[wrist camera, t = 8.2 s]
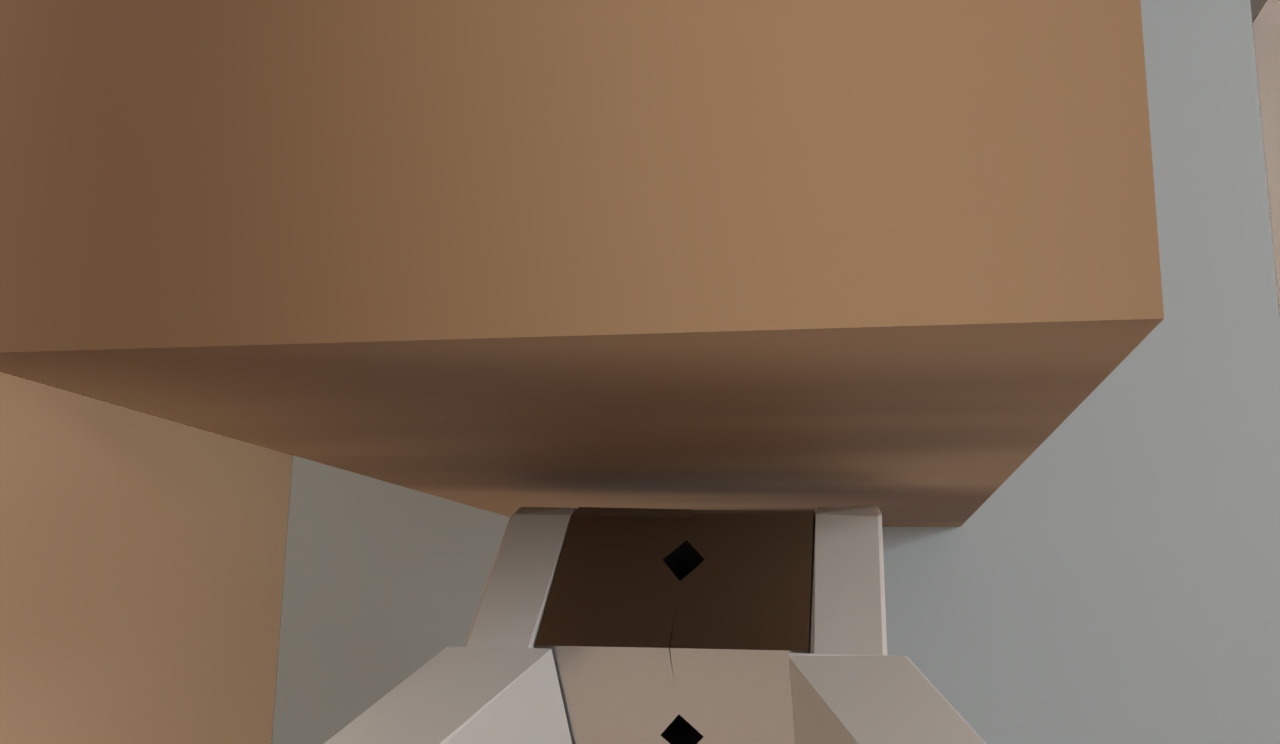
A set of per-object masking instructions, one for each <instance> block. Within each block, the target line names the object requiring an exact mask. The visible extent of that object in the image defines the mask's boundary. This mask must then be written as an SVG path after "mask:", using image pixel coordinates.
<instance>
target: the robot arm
mask: <svg viewBox="0 0 1280 744" xmlns="http://www.w3.org/2000/svg"><path fill="white" fill-rule="evenodd" d="M324 744H986V743H985V742H984V741H983V739H982V738H981V737H980V736H979V735H978V734H977V733H976V732H975V731H974V730H973V728H972V727H971V726H970V725H969V724H968V723H967V722H966V721H965V720H964V718H963V717H962V716H961V715H960V714H959V713H958V712H957V711H956V710H955V709H954V707H953V706H952V705H951V704H950V703H949V702H948V701H947V700H946V699H945V697H944V696H943V695H942V694H941V693H940V692H939V691H938V690H937V689H936V688H935V686H934V685H933V684H932V683H931V682H930V681H929V680H928V679H927V678H926V677H925V675H924V674H923V673H922V672H921V671H920V670H919V669H918V668H917V667H916V665H915V664H914V663H913V662H912V661H911V660H910V659H909V658H908V657H907V656H893V655H887V632H886V607H885V582H884V557H883V532H882V513H881V511H880V510H879V508H878V506H853V507H817V510H816V511H815V509H734V510H695V509H650V508H603V507H578V509H576V508H560V507H520V508H519V509H518V510H517V511H516V512H515V513H514V514H513V515H512V516H511V517H510V519H509V522H508V524H507V527H506V530H505V533H504V536H503V538H502V541H501V544H500V547H499V550H498V552H497V555H496V558H495V561H494V564H493V567H492V569H491V572H490V575H489V578H488V581H487V583H486V586H485V589H484V592H483V595H482V597H481V600H480V603H479V606H478V609H477V611H476V614H475V617H474V620H473V623H472V626H471V628H470V631H469V634H468V637H467V640H466V642H465V645H464V647H446V648H444V649H443V650H442V651H440V652H439V653H438V654H437V655H435V656H434V657H433V658H432V659H430V660H429V661H428V662H427V663H425V664H424V665H423V666H421V667H420V668H419V669H418V670H416V671H415V672H414V673H413V674H411V675H410V676H409V677H407V678H406V679H405V680H404V681H402V682H401V683H400V684H399V685H397V686H396V687H395V688H394V689H392V690H391V691H390V692H388V693H387V694H386V695H385V696H383V697H382V698H381V699H380V700H378V701H377V702H376V703H375V704H373V705H372V706H371V707H369V708H368V709H367V710H366V711H364V712H363V713H362V714H361V715H359V716H358V717H357V718H355V719H354V720H353V721H352V722H350V723H349V724H348V725H347V726H345V727H344V728H343V729H342V730H340V731H339V732H338V733H336V734H335V735H334V736H333V737H331V738H330V739H329V740H328V741H326V742H325V743H324Z"/></svg>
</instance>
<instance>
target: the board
mask: <svg viewBox="0 0 1280 744" xmlns="http://www.w3.org/2000/svg"><path fill="white" fill-rule="evenodd" d="M1140 2H1141V16H1142V29H1143V42H1144V56H1145V69H1146V83H1147V96H1148V109H1149V123H1150V136H1151V149H1152V163H1153V176H1154V190H1155V203H1156V216H1157V230H1158V243H1159V256H1160V270H1161V283H1162V297H1163V310H1164V319H1163V320H1162V321H1161V322H1160V323H1159V324H1158V325H1157V326H1156V327H1155V328H1154V329H1153V330H1152V331H1151V333H1150V334H1149V335H1148V336H1147V337H1146V338H1145V339H1144V340H1143V341H1142V342H1141V343H1140V344H1139V345H1138V346H1137V347H1136V348H1135V349H1134V350H1133V351H1132V352H1131V353H1130V354H1129V355H1128V356H1127V357H1126V358H1125V359H1124V360H1123V361H1122V362H1121V363H1120V364H1119V365H1118V366H1117V367H1116V368H1115V369H1114V370H1113V371H1112V372H1111V373H1110V374H1109V375H1108V377H1107V378H1106V379H1105V380H1104V381H1103V382H1102V383H1101V384H1100V385H1099V386H1098V387H1097V388H1096V389H1095V390H1094V391H1093V392H1092V393H1091V394H1090V395H1089V396H1088V397H1087V398H1086V399H1085V400H1084V401H1083V402H1082V403H1081V404H1080V405H1079V406H1078V407H1077V408H1076V409H1075V410H1074V411H1073V412H1072V413H1071V414H1070V415H1069V416H1068V417H1067V418H1066V419H1065V421H1064V422H1063V423H1062V424H1061V425H1060V426H1059V427H1058V428H1057V429H1056V430H1055V431H1054V432H1053V433H1052V434H1051V435H1050V436H1049V437H1048V438H1047V439H1046V440H1045V441H1044V442H1043V443H1042V444H1041V445H1040V446H1039V447H1038V448H1037V449H1036V450H1035V451H1034V452H1033V453H1032V454H1031V455H1030V456H1029V457H1028V458H1027V459H1026V460H1025V461H1024V462H1023V463H1022V465H1021V466H1020V467H1019V468H1018V469H1017V470H1016V471H1015V472H1014V473H1013V474H1012V475H1011V476H1010V477H1009V478H1008V479H1007V480H1006V481H1005V482H1004V483H1003V484H1002V485H1001V486H1000V487H999V488H998V489H997V490H996V491H995V492H994V493H993V494H992V495H991V496H990V497H989V498H988V499H987V500H986V501H985V502H984V503H983V504H982V505H981V506H980V507H979V509H978V510H977V511H976V512H975V513H974V514H973V515H972V516H971V517H970V518H969V519H968V520H967V521H966V522H965V523H964V524H963V525H962V526H961V527H882V532H883V557H884V582H885V607H886V632H887V655H893V656H907V657H908V658H909V659H910V660H911V661H912V662H913V663H914V664H915V665H916V667H917V668H918V669H919V670H920V671H921V672H922V673H923V674H924V675H925V677H926V678H927V679H928V680H929V681H930V682H931V683H932V684H933V685H934V686H935V688H936V689H937V690H938V691H939V692H940V693H941V694H942V695H943V696H944V697H945V699H946V700H947V701H948V702H949V703H950V704H951V705H952V706H953V707H954V709H955V710H956V711H957V712H958V713H959V714H960V715H961V716H962V717H963V718H964V720H965V721H966V722H967V723H968V724H969V725H970V726H971V727H972V728H973V730H974V731H975V732H976V733H977V734H978V735H979V736H980V737H981V738H982V739H983V741H984V742H985V743H986V744H1280V316H1279V305H1278V294H1277V283H1276V272H1275V262H1274V251H1273V240H1272V229H1271V219H1270V208H1269V197H1268V186H1267V176H1266V165H1265V154H1264V143H1263V133H1262V122H1261V111H1260V100H1259V90H1258V79H1257V68H1256V57H1255V47H1254V36H1253V25H1252V14H1251V3H1250V0H1140ZM509 519H510V517H507V516H504V515H500V514H497V513H493V512H490V511H486V510H483V509H479V508H476V507H472V506H469V505H465V504H462V503H458V502H455V501H451V500H448V499H444V498H441V497H437V496H434V495H430V494H427V493H423V492H420V491H416V490H413V489H409V488H406V487H402V486H399V485H395V484H392V483H388V482H385V481H381V480H378V479H374V478H371V477H367V476H364V475H360V474H357V473H353V472H350V471H346V470H343V469H339V468H336V467H332V466H329V465H325V464H322V463H318V462H315V461H311V460H308V459H304V458H301V457H297V456H294V455H293V459H292V473H291V487H290V500H289V514H288V528H287V541H286V555H285V569H284V582H283V596H282V610H281V623H280V637H279V651H278V664H277V678H276V692H275V705H274V719H273V733H272V744H324V743H325V742H326V741H328V740H329V739H330V738H331V737H333V736H334V735H335V734H336V733H338V732H339V731H340V730H342V729H343V728H344V727H345V726H347V725H348V724H349V723H350V722H352V721H353V720H354V719H355V718H357V717H358V716H359V715H361V714H362V713H363V712H364V711H366V710H367V709H368V708H369V707H371V706H372V705H373V704H375V703H376V702H377V701H378V700H380V699H381V698H382V697H383V696H385V695H386V694H387V693H388V692H390V691H391V690H392V689H394V688H395V687H396V686H397V685H399V684H400V683H401V682H402V681H404V680H405V679H406V678H407V677H409V676H410V675H411V674H413V673H414V672H415V671H416V670H418V669H419V668H420V667H421V666H423V665H424V664H425V663H427V662H428V661H429V660H430V659H432V658H433V657H434V656H435V655H437V654H438V653H439V652H440V651H442V650H443V649H444V648H446V647H464V645H465V642H466V640H467V637H468V634H469V631H470V628H471V626H472V623H473V620H474V617H475V614H476V611H477V609H478V606H479V603H480V600H481V597H482V595H483V592H484V589H485V586H486V583H487V581H488V578H489V575H490V572H491V569H492V567H493V564H494V561H495V558H496V555H497V552H498V550H499V547H500V544H501V541H502V538H503V536H504V533H505V530H506V527H507V524H508V522H509Z"/></svg>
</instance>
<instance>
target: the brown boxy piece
mask: <svg viewBox="0 0 1280 744" xmlns="http://www.w3.org/2000/svg"><path fill="white" fill-rule="evenodd" d="M1163 319H1164V310H1163V297H1162V283H1161V270H1160V256H1159V243H1158V230H1157V216H1156V203H1155V190H1154V176H1153V163H1152V149H1151V136H1150V123H1149V109H1148V96H1147V83H1146V69H1145V56H1144V42H1143V29H1142V16H1141V2H1140V0H0V372H4V373H7V374H11V375H14V376H18V377H21V378H25V379H28V380H32V381H35V382H39V383H42V384H46V385H49V386H53V387H56V388H60V389H63V390H67V391H70V392H74V393H77V394H81V395H84V396H88V397H91V398H95V399H98V400H102V401H105V402H109V403H112V404H116V405H119V406H123V407H126V408H130V409H133V410H137V411H140V412H144V413H147V414H151V415H154V416H158V417H161V418H165V419H168V420H172V421H175V422H179V423H182V424H186V425H189V426H193V427H196V428H200V429H203V430H207V431H210V432H214V433H217V434H221V435H224V436H228V437H231V438H235V439H238V440H242V441H245V442H249V443H252V444H256V445H259V446H263V447H266V448H270V449H273V450H277V451H280V452H284V453H287V454H290V455H294V456H297V457H301V458H304V459H308V460H311V461H315V462H318V463H322V464H325V465H329V466H332V467H336V468H339V469H343V470H346V471H350V472H353V473H357V474H360V475H364V476H367V477H371V478H374V479H378V480H381V481H385V482H388V483H392V484H395V485H399V486H402V487H406V488H409V489H413V490H416V491H420V492H423V493H427V494H430V495H434V496H437V497H441V498H444V499H448V500H451V501H455V502H458V503H462V504H465V505H469V506H472V507H476V508H479V509H483V510H486V511H490V512H493V513H497V514H500V515H504V516H507V517H511V516H512V515H513V514H514V513H515V512H516V511H517V510H518V509H519V508H520V507H560V508H576V509H578V507H603V508H650V509H695V510H734V509H815V511H816V510H817V507H853V506H878V508H879V510H880V511H881V513H882V527H961V526H962V525H963V524H964V523H965V522H966V521H967V520H968V519H969V518H970V517H971V516H972V515H973V514H974V513H975V512H976V511H977V510H978V509H979V507H980V506H981V505H982V504H983V503H984V502H985V501H986V500H987V499H988V498H989V497H990V496H991V495H992V494H993V493H994V492H995V491H996V490H997V489H998V488H999V487H1000V486H1001V485H1002V484H1003V483H1004V482H1005V481H1006V480H1007V479H1008V478H1009V477H1010V476H1011V475H1012V474H1013V473H1014V472H1015V471H1016V470H1017V469H1018V468H1019V467H1020V466H1021V465H1022V463H1023V462H1024V461H1025V460H1026V459H1027V458H1028V457H1029V456H1030V455H1031V454H1032V453H1033V452H1034V451H1035V450H1036V449H1037V448H1038V447H1039V446H1040V445H1041V444H1042V443H1043V442H1044V441H1045V440H1046V439H1047V438H1048V437H1049V436H1050V435H1051V434H1052V433H1053V432H1054V431H1055V430H1056V429H1057V428H1058V427H1059V426H1060V425H1061V424H1062V423H1063V422H1064V421H1065V419H1066V418H1067V417H1068V416H1069V415H1070V414H1071V413H1072V412H1073V411H1074V410H1075V409H1076V408H1077V407H1078V406H1079V405H1080V404H1081V403H1082V402H1083V401H1084V400H1085V399H1086V398H1087V397H1088V396H1089V395H1090V394H1091V393H1092V392H1093V391H1094V390H1095V389H1096V388H1097V387H1098V386H1099V385H1100V384H1101V383H1102V382H1103V381H1104V380H1105V379H1106V378H1107V377H1108V375H1109V374H1110V373H1111V372H1112V371H1113V370H1114V369H1115V368H1116V367H1117V366H1118V365H1119V364H1120V363H1121V362H1122V361H1123V360H1124V359H1125V358H1126V357H1127V356H1128V355H1129V354H1130V353H1131V352H1132V351H1133V350H1134V349H1135V348H1136V347H1137V346H1138V345H1139V344H1140V343H1141V342H1142V341H1143V340H1144V339H1145V338H1146V337H1147V336H1148V335H1149V334H1150V333H1151V331H1152V330H1153V329H1154V328H1155V327H1156V326H1157V325H1158V324H1159V323H1160V322H1161V321H1162V320H1163Z"/></svg>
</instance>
